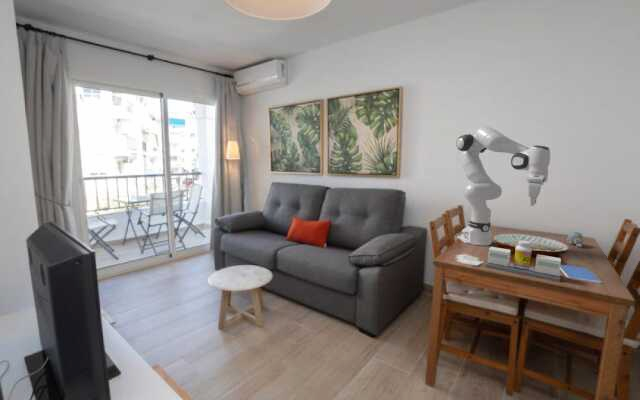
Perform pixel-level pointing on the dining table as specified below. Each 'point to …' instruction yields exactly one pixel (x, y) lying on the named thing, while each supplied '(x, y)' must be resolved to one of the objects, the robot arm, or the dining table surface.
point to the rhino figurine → (575, 239)
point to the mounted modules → (542, 262)
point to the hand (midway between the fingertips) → (533, 204)
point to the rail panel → (523, 272)
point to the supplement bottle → (522, 255)
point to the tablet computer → (579, 273)
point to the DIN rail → (524, 269)
